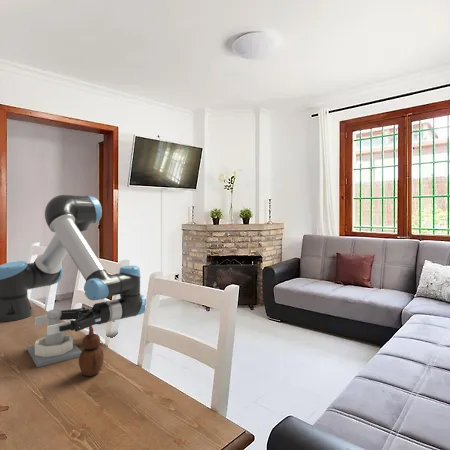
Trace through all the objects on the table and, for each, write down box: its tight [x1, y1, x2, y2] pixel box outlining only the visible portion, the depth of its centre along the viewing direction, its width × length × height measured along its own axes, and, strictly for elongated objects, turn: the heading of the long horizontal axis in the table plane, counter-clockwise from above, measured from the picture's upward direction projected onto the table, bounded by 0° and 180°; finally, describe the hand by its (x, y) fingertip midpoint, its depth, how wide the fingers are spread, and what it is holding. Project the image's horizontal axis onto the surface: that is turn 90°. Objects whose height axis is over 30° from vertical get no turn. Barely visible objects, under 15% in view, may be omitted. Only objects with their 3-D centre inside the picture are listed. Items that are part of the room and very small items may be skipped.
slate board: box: [26, 342, 83, 368], centre depth 112 cm, size 16×13×1 cm
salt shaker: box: [45, 308, 64, 346], centre depth 111 cm, size 6×6×13 cm
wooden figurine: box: [78, 324, 105, 377], centre depth 98 cm, size 7×6×15 cm
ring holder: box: [34, 333, 74, 357], centre depth 112 cm, size 11×11×3 cm
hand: (40, 326), depth 109 cm, fingers open, 11 cm apart
